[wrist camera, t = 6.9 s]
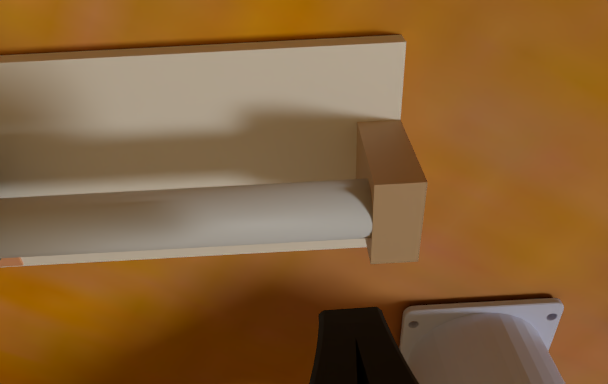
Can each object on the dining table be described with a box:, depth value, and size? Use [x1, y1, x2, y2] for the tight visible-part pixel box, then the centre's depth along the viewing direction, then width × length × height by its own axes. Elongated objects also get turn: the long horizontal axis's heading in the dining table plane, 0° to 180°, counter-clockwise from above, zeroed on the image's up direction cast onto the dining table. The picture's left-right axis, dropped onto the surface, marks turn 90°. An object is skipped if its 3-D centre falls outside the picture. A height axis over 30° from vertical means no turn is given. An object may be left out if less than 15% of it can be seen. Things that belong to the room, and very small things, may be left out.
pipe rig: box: [0, 35, 427, 267], centre depth 18 cm, size 22×9×5 cm, turn 92°
